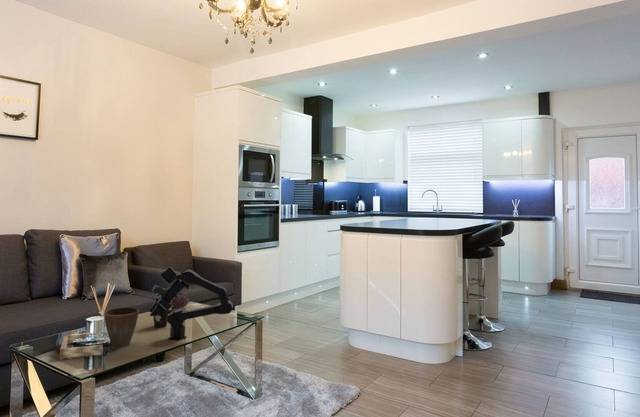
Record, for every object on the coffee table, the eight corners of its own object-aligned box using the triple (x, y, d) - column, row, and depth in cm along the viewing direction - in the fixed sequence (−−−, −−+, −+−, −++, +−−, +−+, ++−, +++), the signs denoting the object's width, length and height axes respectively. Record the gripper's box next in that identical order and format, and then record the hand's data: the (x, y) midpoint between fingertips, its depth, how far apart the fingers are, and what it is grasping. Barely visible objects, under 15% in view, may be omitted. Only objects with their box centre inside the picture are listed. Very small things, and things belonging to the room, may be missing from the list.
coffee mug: (148, 326, 222) (149, 308, 222) (161, 323, 230) (162, 305, 230) (163, 330, 217) (164, 311, 217) (175, 326, 224) (176, 308, 224)
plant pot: (114, 352, 182) (116, 316, 182) (96, 345, 189) (97, 311, 190) (144, 343, 194) (145, 310, 195) (125, 337, 202) (126, 305, 202)
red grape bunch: (183, 306, 270) (184, 291, 270) (194, 308, 266) (195, 293, 266) (162, 311, 254) (163, 296, 254) (174, 314, 250) (175, 298, 250)
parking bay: (102, 339, 198) (102, 331, 198) (102, 354, 179) (102, 345, 179) (64, 343, 190) (64, 335, 191) (59, 359, 171) (60, 350, 171)
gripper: (161, 276, 210) (137, 299, 205) (163, 282, 193) (138, 307, 188) (176, 290, 213) (153, 313, 208) (180, 297, 196) (155, 322, 191)
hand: (150, 313), depth 199 cm, fingers open, 7 cm apart
